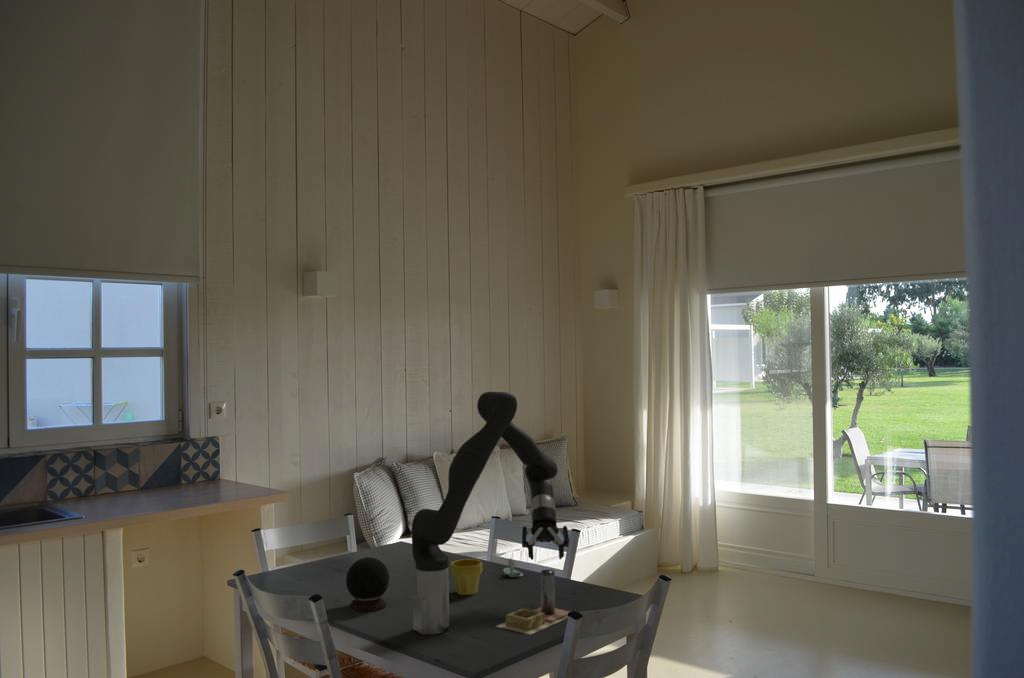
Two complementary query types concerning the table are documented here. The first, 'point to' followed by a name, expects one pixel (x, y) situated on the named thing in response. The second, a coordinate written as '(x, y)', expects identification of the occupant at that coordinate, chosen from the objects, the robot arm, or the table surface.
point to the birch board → (532, 620)
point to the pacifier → (512, 570)
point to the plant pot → (466, 575)
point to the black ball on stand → (367, 584)
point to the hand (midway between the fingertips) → (546, 558)
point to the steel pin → (548, 592)
